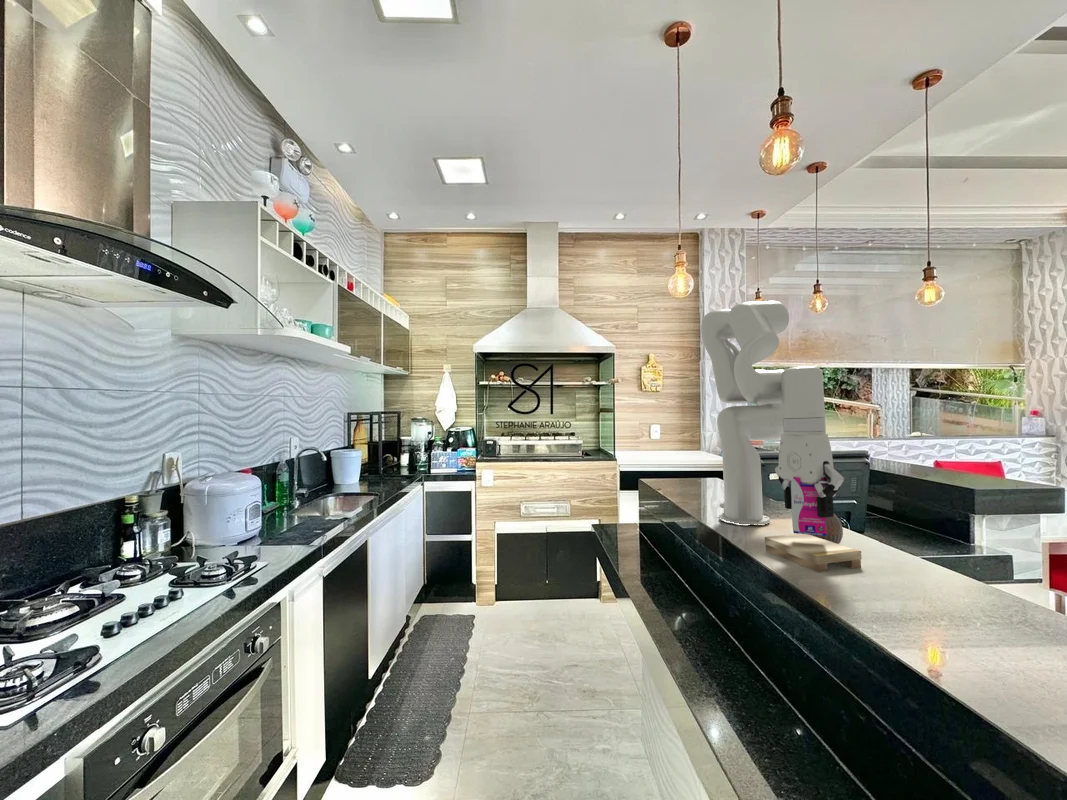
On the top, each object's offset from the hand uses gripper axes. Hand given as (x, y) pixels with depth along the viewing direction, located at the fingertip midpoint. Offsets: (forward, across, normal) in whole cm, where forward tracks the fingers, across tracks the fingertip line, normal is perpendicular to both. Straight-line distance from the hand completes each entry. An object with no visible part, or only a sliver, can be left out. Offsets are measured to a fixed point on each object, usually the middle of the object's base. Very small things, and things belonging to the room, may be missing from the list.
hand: (808, 512), depth 93 cm
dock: (+9, 0, 0) cm, 9 cm away
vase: (+10, -7, +10) cm, 16 cm away
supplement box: (+4, 0, 0) cm, 4 cm away
